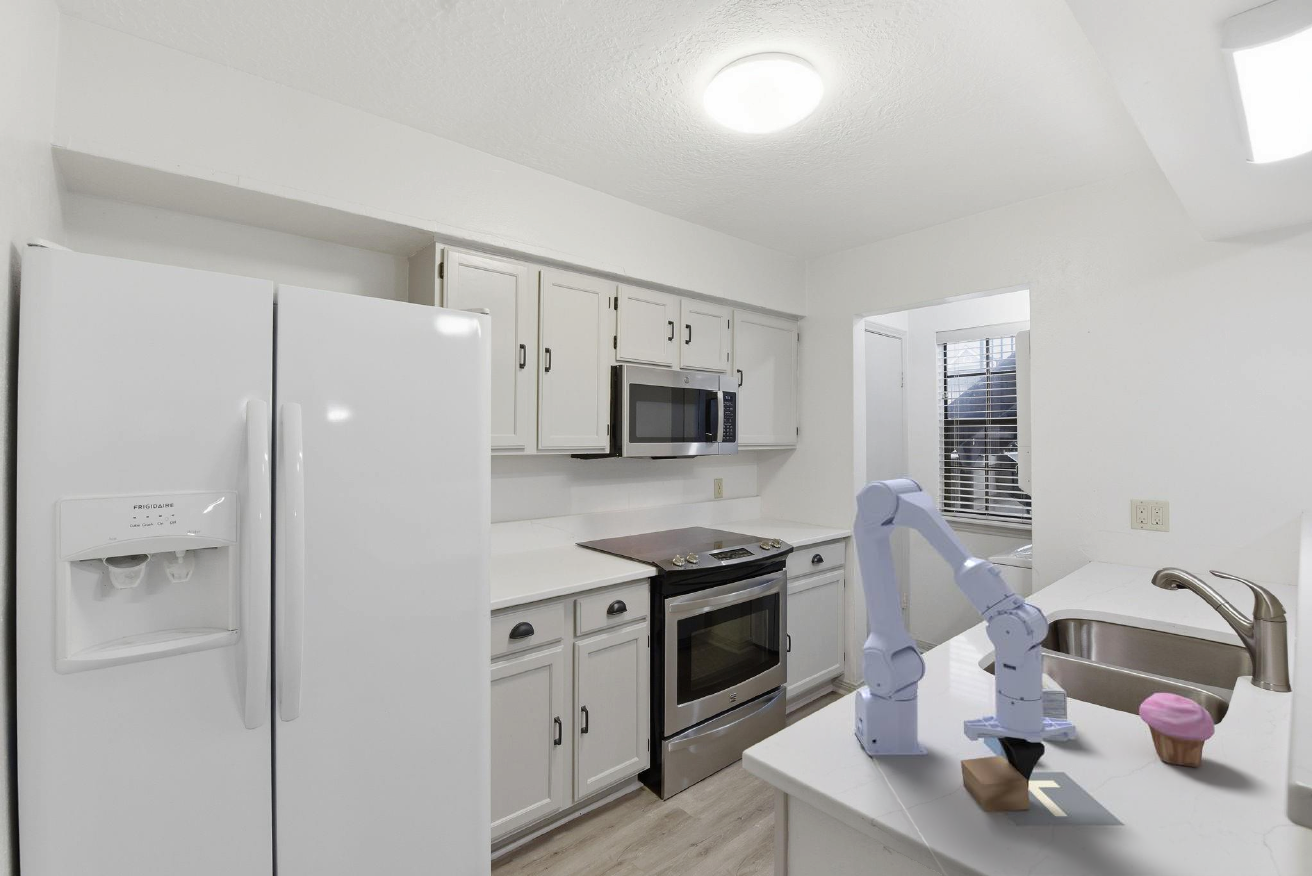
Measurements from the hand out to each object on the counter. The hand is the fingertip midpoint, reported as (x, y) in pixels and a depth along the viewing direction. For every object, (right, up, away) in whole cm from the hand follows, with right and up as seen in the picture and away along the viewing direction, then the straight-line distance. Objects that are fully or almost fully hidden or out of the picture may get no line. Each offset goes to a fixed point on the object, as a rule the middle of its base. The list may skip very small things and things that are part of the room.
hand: (1019, 787), depth 84 cm
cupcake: (+30, -1, +10) cm, 32 cm away
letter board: (+3, -2, 0) cm, 4 cm away
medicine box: (+15, -1, +19) cm, 24 cm away
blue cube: (+5, -2, +12) cm, 13 cm away
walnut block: (-3, -1, 0) cm, 4 cm away
